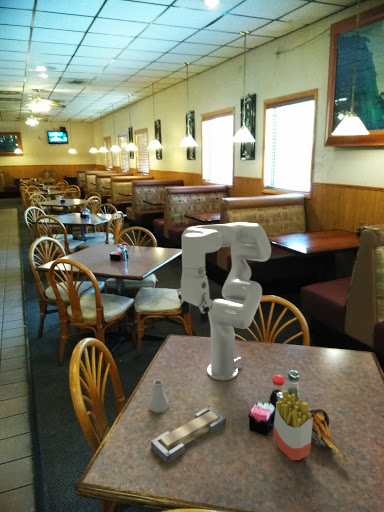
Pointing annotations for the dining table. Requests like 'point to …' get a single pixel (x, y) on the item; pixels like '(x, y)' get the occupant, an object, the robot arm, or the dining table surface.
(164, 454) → the end cap
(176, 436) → the birch slat
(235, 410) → the dining table surface
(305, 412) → the french fries container
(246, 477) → the dining table surface
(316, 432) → the fried food
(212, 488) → the dining table surface
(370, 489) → the dining table surface
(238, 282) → the robot arm
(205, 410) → the end cap
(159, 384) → the flask
